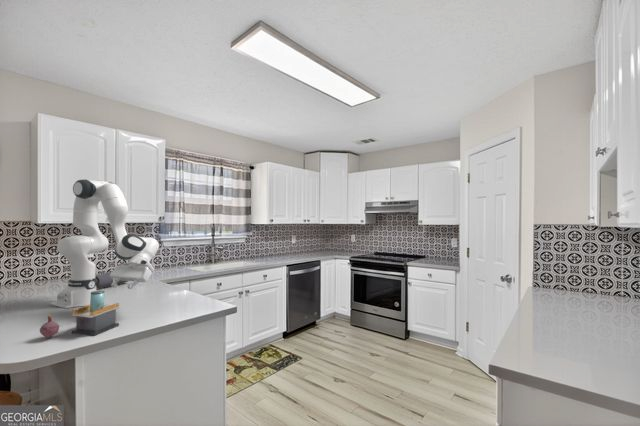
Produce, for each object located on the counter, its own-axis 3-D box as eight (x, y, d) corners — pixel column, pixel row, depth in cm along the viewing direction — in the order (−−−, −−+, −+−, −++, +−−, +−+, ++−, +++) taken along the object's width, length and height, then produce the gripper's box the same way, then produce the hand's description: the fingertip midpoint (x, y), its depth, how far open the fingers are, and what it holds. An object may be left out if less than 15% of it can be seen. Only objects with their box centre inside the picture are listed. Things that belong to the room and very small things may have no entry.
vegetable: (48, 335, 126) (48, 311, 126) (63, 335, 126) (63, 311, 127) (35, 341, 120) (35, 316, 120) (51, 341, 120) (51, 316, 120)
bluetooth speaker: (122, 282, 221) (123, 269, 222) (131, 283, 218) (132, 270, 218) (90, 289, 200) (90, 274, 200) (99, 290, 197) (100, 275, 197)
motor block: (65, 333, 128) (65, 309, 128) (94, 322, 142) (95, 300, 142) (93, 336, 126) (93, 312, 126) (120, 324, 139) (121, 303, 140)
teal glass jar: (86, 310, 132) (87, 292, 132) (96, 307, 137) (97, 290, 137) (96, 311, 131) (97, 293, 131) (106, 308, 136) (107, 290, 136)
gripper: (117, 259, 157) (99, 282, 147) (151, 262, 153) (135, 285, 143) (124, 266, 161) (107, 288, 151) (157, 269, 157) (141, 292, 148)
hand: (121, 287), depth 147 cm, fingers open, 8 cm apart
